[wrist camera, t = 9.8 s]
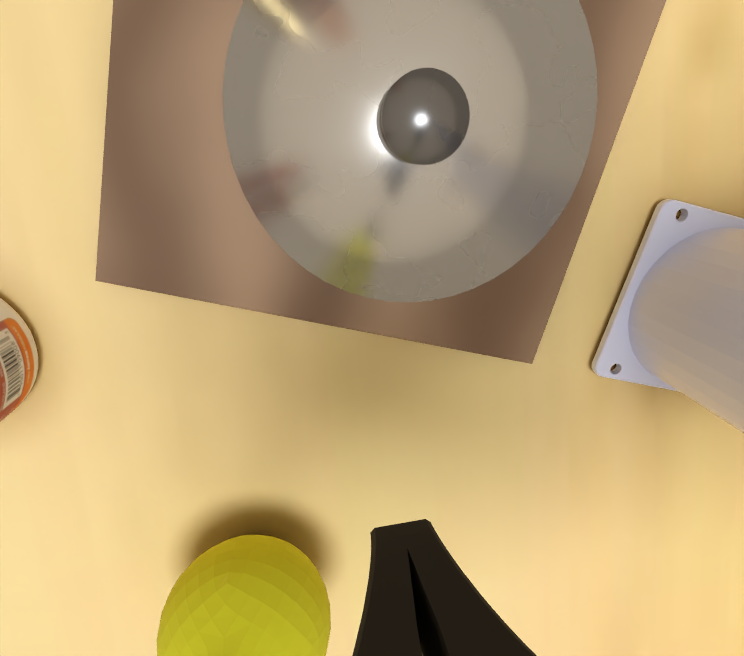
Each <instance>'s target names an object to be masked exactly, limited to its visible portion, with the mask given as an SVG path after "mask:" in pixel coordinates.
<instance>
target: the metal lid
mask: <svg viewBox="0 0 744 656" xmlns="http://www.w3.org/2000/svg"><path fill="white" fill-rule="evenodd" d="M596 108H597V69H596V62H595V55H594V47H593V43H592V39H591V35H590V31H589V27H588V23H587V20H586V17H585V14H584V12H583V9H582V7H581V4H580V2H579V0H244V2H243V4H242V6H241V9H240V12H239V14H238V17H237V20H236V22H235V25H234V28H233V30H232V34H231V39H230V43H229V47H228V51H227V56H226V61H225V70H224V80H223V119H224V126H225V133H226V140H227V146H228V149H229V153H230V157H231V160H232V164H233V168H234V171H235V174H236V176H237V179H238V181H239V183H240V186H241V188H242V191H243V193H244V195H245V197H246V199H247V201H248V203H249V204H250V206H251V208H252V210H253V212H254V213H255V215H256V217H257V218H258V220H259V221H260V222H261V224H262V225H263V227H264V228H265V229H266V231H267V232H268V233H269V235H270V236H271V237H272V238H273V240H274V241H275V242H276V243H277V244H278V245H279V246H280V247H281V248H282V249H283V250H284V251H285V252H286V253H287V254H288V255H289V256H290V257H291V258H292V259H294V260H295V261H296V262H297V263H299V264H300V265H301V266H302V267H303V268H305V269H306V270H307V271H309V272H311V273H312V274H314V275H315V276H317V277H319V278H320V279H322V280H323V281H325V282H327V283H329V284H331V285H334V286H336V287H338V288H340V289H342V290H344V291H347V292H350V293H353V294H357V295H360V296H363V297H366V298H372V299H377V300H383V301H390V302H420V301H431V300H436V299H441V298H446V297H450V296H454V295H457V294H460V293H463V292H466V291H468V290H471V289H474V288H476V287H478V286H480V285H482V284H484V283H486V282H488V281H490V280H492V279H494V278H495V277H497V276H498V275H500V274H502V273H503V272H505V271H506V270H508V269H509V268H511V267H512V266H513V265H514V264H516V263H517V262H518V261H519V260H521V259H522V258H523V257H524V256H525V255H527V254H528V253H529V252H530V251H531V250H532V249H533V248H534V247H535V246H536V245H537V244H538V243H539V241H540V240H541V239H542V238H543V237H544V236H545V235H546V234H547V232H548V231H549V230H550V228H551V227H552V226H553V225H554V223H555V222H556V221H557V219H558V218H559V216H560V215H561V213H562V211H563V210H564V208H565V206H566V205H567V203H568V201H569V200H570V198H571V196H572V194H573V192H574V190H575V188H576V185H577V183H578V181H579V179H580V177H581V175H582V172H583V169H584V166H585V163H586V160H587V157H588V154H589V150H590V146H591V141H592V136H593V132H594V127H595V119H596Z"/></svg>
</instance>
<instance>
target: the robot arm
mask: <svg viewBox="0 0 744 656" xmlns="http://www.w3.org/2000/svg"><path fill="white" fill-rule="evenodd" d="M678 210H681V216H680V217H679V219H676V213H677V212H678ZM614 364H616V367H615V369H613V370H612V371H610V369H611V367H612V366H613V365H614ZM591 367H592V370H593V371H594V373H596V374H597V375H599V376H601V377H606V378H611V379H616V380H621V381H627V382H632V383H637V384H642V385H648V386H653V387H658V388H663V389H669V390H674V391H679V392H681V393H683V394H684V395H686V396H687V397H689V398H690V399H692V400H693V401H695V402H697V403H698V404H700V405H701V406H703V407H704V408H706V409H707V410H709V411H711V412H712V413H714V414H715V415H717V416H718V417H720V418H721V419H723V420H725V421H726V422H728V423H729V424H731V425H732V426H734V427H735V428H737V429H739V430H740V431H742V432H743V433H744V218H741V217H737V216H733V215H730V214H726V213H722V212H719V211H715V210H711V209H708V208H704V207H700V206H697V205H693V204H689V203H686V202H682V201H678V200H673V199H665V200H663V201H661V202H660V203H659V204H658V205H657V207H656V208H655V210H654V213H653V215H652V218H651V220H650V223H649V225H648V227H647V230H646V232H645V235H644V237H643V240H642V242H641V244H640V247H639V249H638V252H637V254H636V257H635V259H634V262H633V264H632V266H631V269H630V271H629V274H628V276H627V279H626V281H625V283H624V286H623V288H622V291H621V293H620V296H619V298H618V301H617V303H616V305H615V308H614V310H613V313H612V315H611V318H610V320H609V322H608V325H607V327H606V330H605V332H604V335H603V337H602V340H601V342H600V344H599V347H598V349H597V352H596V354H595V357H594V359H593V361H592V366H591ZM422 654H423V655H422ZM353 656H536V655H535V654H534V653H533V652H532V651H531V650H530V649H529V648H528V647H527V646H526V645H525V644H524V643H523V641H522V640H521V639H520V638H519V637H518V636H517V635H516V634H515V633H514V632H513V631H512V630H511V629H510V628H509V627H508V626H507V624H506V623H505V622H504V621H503V620H502V619H501V618H500V616H499V615H498V614H497V613H496V612H495V611H494V610H493V609H492V607H491V606H490V605H489V604H488V603H487V601H486V600H485V599H484V598H483V597H482V596H481V594H480V593H479V592H478V590H477V589H476V588H475V587H474V585H473V584H472V583H471V582H470V580H469V579H468V578H467V577H466V575H465V574H464V573H463V571H462V570H461V569H460V567H459V566H458V565H457V563H456V562H455V560H454V559H453V558H452V556H451V555H450V553H449V552H448V550H447V549H446V547H445V546H444V544H443V543H442V541H441V540H440V538H439V537H438V535H437V533H436V531H435V530H434V528H433V526H432V524H431V522H429V521H428V520H426V519H423V520H418V521H412V522H406V523H400V524H395V525H389V526H383V527H377V528H374V529H373V531H372V532H371V563H370V572H369V580H368V586H367V592H366V598H365V603H364V609H363V614H362V619H361V623H360V627H359V631H358V635H357V640H356V644H355V648H354V652H353Z"/></svg>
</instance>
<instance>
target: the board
mask: <svg viewBox="0 0 744 656" xmlns="http://www.w3.org/2000/svg"><path fill="white" fill-rule="evenodd" d="M243 2H244V0H113V15H112V31H111V47H110V62H109V78H108V94H107V110H106V125H105V141H104V157H103V173H102V188H101V204H100V220H99V236H98V251H97V267H96V281H100V282H105V283H111V284H116V285H121V286H126V287H132V288H137V289H142V290H147V291H152V292H158V293H163V294H168V295H173V296H179V297H184V298H189V299H194V300H200V301H205V302H210V303H215V304H221V305H226V306H231V307H236V308H242V309H247V310H252V311H257V312H263V313H268V314H273V315H278V316H284V317H289V318H294V319H299V320H305V321H310V322H315V323H320V324H326V325H331V326H336V327H341V328H347V329H352V330H357V331H362V332H368V333H373V334H378V335H383V336H389V337H394V338H399V339H404V340H410V341H415V342H420V343H425V344H431V345H436V346H441V347H446V348H452V349H457V350H462V351H467V352H473V353H478V354H483V355H488V356H494V357H499V358H504V359H509V360H515V361H520V362H525V363H530V364H532V363H533V360H534V357H535V354H536V352H537V349H538V346H539V344H540V341H541V338H542V335H543V333H544V330H545V327H546V325H547V322H548V319H549V316H550V314H551V311H552V308H553V306H554V303H555V300H556V298H557V295H558V292H559V289H560V287H561V284H562V281H563V279H564V276H565V273H566V270H567V268H568V265H569V262H570V260H571V257H572V254H573V251H574V249H575V246H576V243H577V241H578V238H579V235H580V232H581V230H582V227H583V224H584V222H585V219H586V216H587V214H588V211H589V208H590V205H591V203H592V200H593V197H594V195H595V192H596V189H597V186H598V184H599V181H600V178H601V176H602V173H603V170H604V167H605V165H606V162H607V159H608V157H609V154H610V151H611V148H612V146H613V143H614V140H615V138H616V135H617V132H618V130H619V127H620V124H621V121H622V119H623V116H624V113H625V111H626V108H627V105H628V102H629V100H630V97H631V94H632V92H633V89H634V86H635V83H636V81H637V78H638V75H639V73H640V70H641V67H642V65H643V62H644V59H645V56H646V54H647V51H648V48H649V46H650V43H651V40H652V37H653V35H654V32H655V29H656V27H657V24H658V21H659V18H660V16H661V13H662V10H663V8H664V5H665V2H666V0H579V2H580V4H581V7H582V9H583V12H584V14H585V17H586V20H587V23H588V27H589V31H590V35H591V39H592V43H593V47H594V55H595V62H596V69H597V108H596V119H595V127H594V132H593V136H592V141H591V146H590V150H589V154H588V157H587V160H586V163H585V166H584V169H583V172H582V175H581V177H580V179H579V181H578V183H577V185H576V188H575V190H574V192H573V194H572V196H571V198H570V200H569V201H568V203H567V205H566V206H565V208H564V210H563V211H562V213H561V215H560V216H559V218H558V219H557V221H556V222H555V223H554V225H553V226H552V227H551V228H550V230H549V231H548V232H547V234H546V235H545V236H544V237H543V238H542V239H541V240H540V241H539V243H538V244H537V245H536V246H535V247H534V248H533V249H532V250H531V251H530V252H529V253H528V254H527V255H525V256H524V257H523V258H522V259H521V260H519V261H518V262H517V263H516V264H514V265H513V266H512V267H511V268H509V269H508V270H506V271H505V272H503V273H502V274H500V275H498V276H497V277H495V278H494V279H492V280H490V281H488V282H486V283H484V284H482V285H480V286H478V287H476V288H474V289H471V290H468V291H466V292H463V293H460V294H457V295H454V296H450V297H446V298H441V299H436V300H431V301H420V302H390V301H383V300H377V299H372V298H366V297H363V296H360V295H357V294H353V293H350V292H347V291H344V290H342V289H340V288H338V287H336V286H334V285H331V284H329V283H327V282H325V281H323V280H322V279H320V278H319V277H317V276H315V275H314V274H312V273H311V272H309V271H307V270H306V269H305V268H303V267H302V266H301V265H300V264H299V263H297V262H296V261H295V260H294V259H292V258H291V257H290V256H289V255H288V254H287V253H286V252H285V251H284V250H283V249H282V248H281V247H280V246H279V245H278V244H277V243H276V242H275V241H274V240H273V238H272V237H271V236H270V235H269V233H268V232H267V231H266V229H265V228H264V227H263V225H262V224H261V222H260V221H259V220H258V218H257V217H256V215H255V213H254V212H253V210H252V208H251V206H250V204H249V203H248V201H247V199H246V197H245V195H244V193H243V191H242V188H241V186H240V183H239V181H238V179H237V176H236V174H235V171H234V168H233V164H232V160H231V157H230V153H229V149H228V146H227V140H226V133H225V126H224V119H223V80H224V70H225V61H226V56H227V51H228V47H229V43H230V39H231V34H232V30H233V28H234V25H235V22H236V20H237V17H238V14H239V12H240V9H241V6H242V4H243Z"/></svg>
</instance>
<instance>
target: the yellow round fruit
mask: <svg viewBox="0 0 744 656" xmlns="http://www.w3.org/2000/svg"><path fill="white" fill-rule="evenodd" d="M330 629H331V622H330V603H329V599H328V595H327V591H326V587H325V585H324V583H323V581H322V579H321V577H320V574H319V572H318V570H317V568H316V567H315V566H314V564H313V563H312V562H311V560H310V559H309V558H308V557H307V556H306V555H305V554H304V553H303V552H302V551H301V550H299V549H298V548H297V547H295V546H293V545H292V544H290V543H288V542H287V541H284V540H281V539H278V538H276V537H272V536H265V535H242V536H239V537H235V538H231V539H228V540H226V541H224V542H222V543H219V544H217V545H215V546H214V547H212V548H210V549H208V550H207V551H206V552H204V553H203V554H201V555H200V556H199V557H197V558H196V559H195V560H194V561H193V563H192V564H191V565H190V566H189V567H188V568H187V569H186V570H185V571H184V572H183V573H182V575H181V576H180V577H179V579H178V580H177V582H176V583H175V585H174V587H173V588H172V590H171V592H170V594H169V596H168V599H167V601H166V604H165V606H164V609H163V611H162V615H161V620H160V625H159V631H158V636H157V656H325V655H326V651H327V646H328V640H329V635H330Z"/></svg>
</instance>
